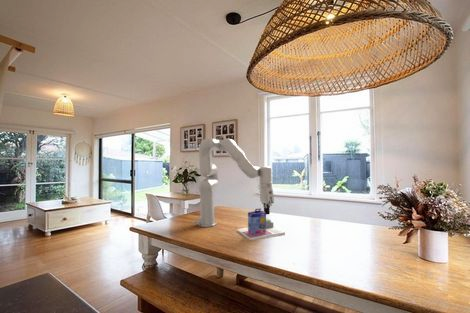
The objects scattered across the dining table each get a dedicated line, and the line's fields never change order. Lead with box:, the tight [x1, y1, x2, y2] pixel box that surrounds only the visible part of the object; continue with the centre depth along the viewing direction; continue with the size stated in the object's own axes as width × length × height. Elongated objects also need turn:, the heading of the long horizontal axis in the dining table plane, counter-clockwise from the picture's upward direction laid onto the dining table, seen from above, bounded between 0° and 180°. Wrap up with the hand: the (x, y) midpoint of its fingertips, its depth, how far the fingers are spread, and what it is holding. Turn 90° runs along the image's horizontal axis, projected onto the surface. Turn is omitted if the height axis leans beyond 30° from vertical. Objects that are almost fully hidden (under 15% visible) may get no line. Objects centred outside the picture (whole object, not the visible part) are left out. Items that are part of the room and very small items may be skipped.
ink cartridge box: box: [247, 208, 267, 235], centre depth 130 cm, size 10×6×14 cm, turn 115°
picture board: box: [236, 221, 286, 241], centre depth 134 cm, size 23×18×4 cm
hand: (266, 214), depth 142 cm, fingers closed
